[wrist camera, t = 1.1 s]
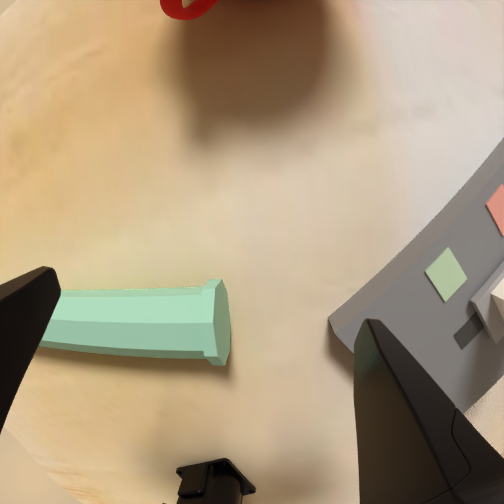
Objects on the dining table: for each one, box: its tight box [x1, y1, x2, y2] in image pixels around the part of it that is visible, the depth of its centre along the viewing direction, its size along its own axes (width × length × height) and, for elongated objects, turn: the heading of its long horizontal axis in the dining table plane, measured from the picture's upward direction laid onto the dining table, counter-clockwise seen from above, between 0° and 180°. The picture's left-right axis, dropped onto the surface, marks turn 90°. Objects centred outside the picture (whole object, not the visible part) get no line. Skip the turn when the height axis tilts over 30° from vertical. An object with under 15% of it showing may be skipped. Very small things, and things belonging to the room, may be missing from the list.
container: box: [39, 279, 231, 366], centre depth 22 cm, size 6×6×25 cm
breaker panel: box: [328, 138, 504, 414], centre depth 20 cm, size 24×16×3 cm, turn 133°
